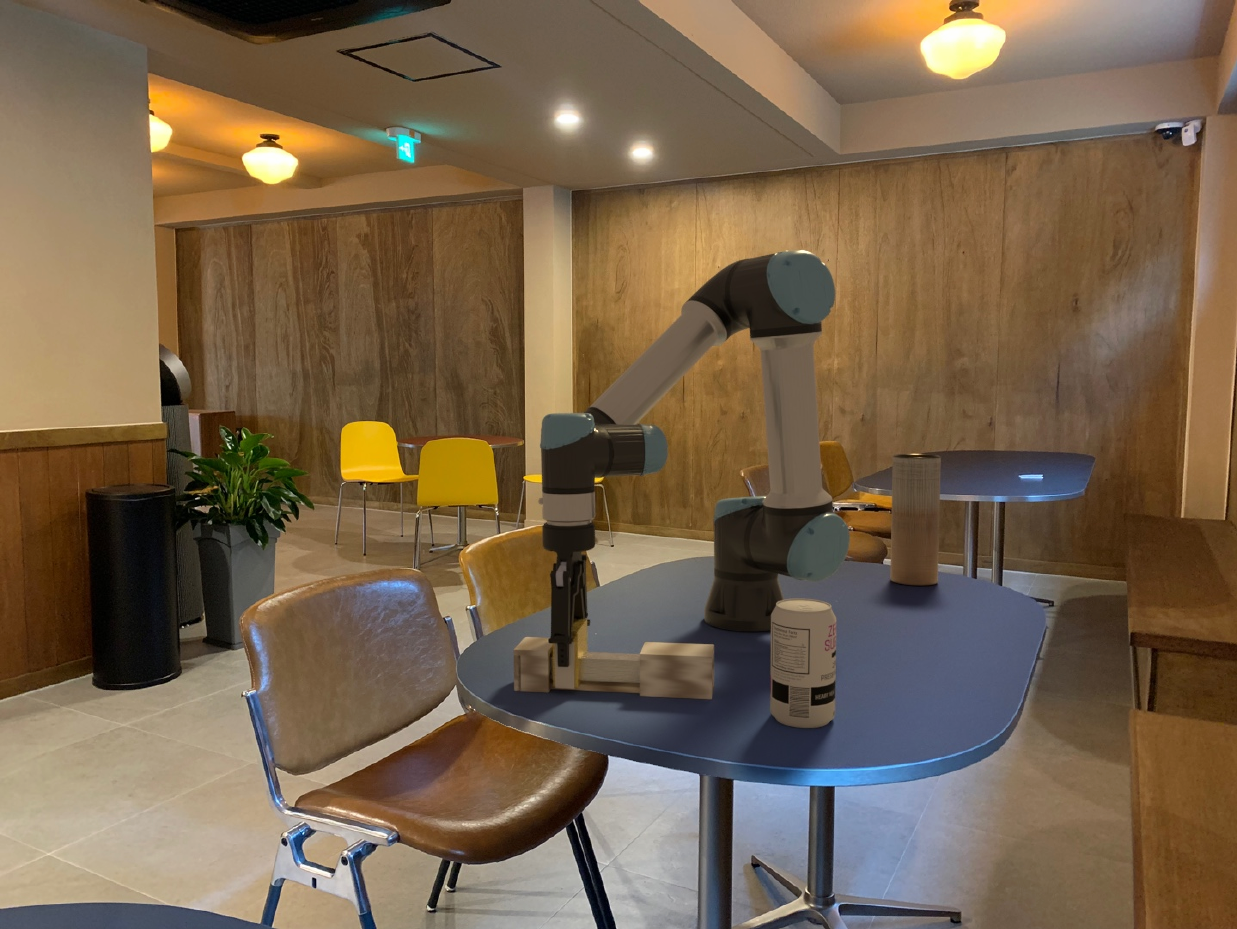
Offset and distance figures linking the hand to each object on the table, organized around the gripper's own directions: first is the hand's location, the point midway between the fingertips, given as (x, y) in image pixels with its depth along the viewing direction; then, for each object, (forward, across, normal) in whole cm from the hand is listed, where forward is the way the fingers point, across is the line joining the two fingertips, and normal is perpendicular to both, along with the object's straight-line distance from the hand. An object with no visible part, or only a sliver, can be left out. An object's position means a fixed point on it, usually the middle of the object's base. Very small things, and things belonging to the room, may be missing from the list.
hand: (570, 678), depth 131 cm
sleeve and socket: (+1, 0, +6) cm, 7 cm away
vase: (+1, -78, +60) cm, 99 cm away
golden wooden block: (0, 0, +3) cm, 3 cm away
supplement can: (+1, +8, +32) cm, 34 cm away
